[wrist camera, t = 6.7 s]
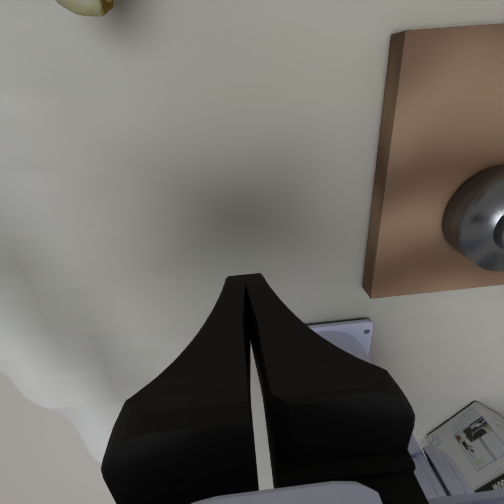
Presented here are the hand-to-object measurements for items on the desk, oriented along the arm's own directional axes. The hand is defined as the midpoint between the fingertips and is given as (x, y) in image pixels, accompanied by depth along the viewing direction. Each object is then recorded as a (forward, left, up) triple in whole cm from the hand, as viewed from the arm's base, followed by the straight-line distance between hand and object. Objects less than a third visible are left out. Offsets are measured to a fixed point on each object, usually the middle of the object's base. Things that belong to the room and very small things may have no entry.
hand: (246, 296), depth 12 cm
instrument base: (+1, -16, -9) cm, 19 cm away
